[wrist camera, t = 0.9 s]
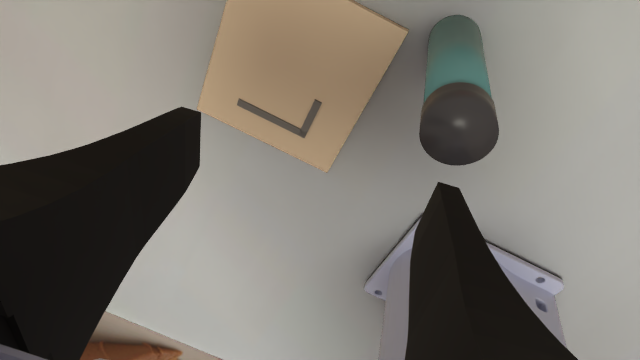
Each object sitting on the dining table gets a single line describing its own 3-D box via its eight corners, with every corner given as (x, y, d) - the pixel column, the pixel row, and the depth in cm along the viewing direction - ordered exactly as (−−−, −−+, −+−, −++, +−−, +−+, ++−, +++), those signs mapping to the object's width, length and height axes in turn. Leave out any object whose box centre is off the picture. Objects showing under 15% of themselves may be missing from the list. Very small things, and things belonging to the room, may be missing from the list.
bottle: (493, 29, 19) (515, 122, 13) (462, 73, 21) (468, 176, 14) (446, 4, 19) (446, 86, 13) (417, 51, 20) (405, 145, 14)
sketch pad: (408, 29, 20) (408, 32, 20) (328, 169, 26) (326, 173, 25) (244, -57, 19) (241, -55, 19) (199, 106, 25) (196, 110, 25)
